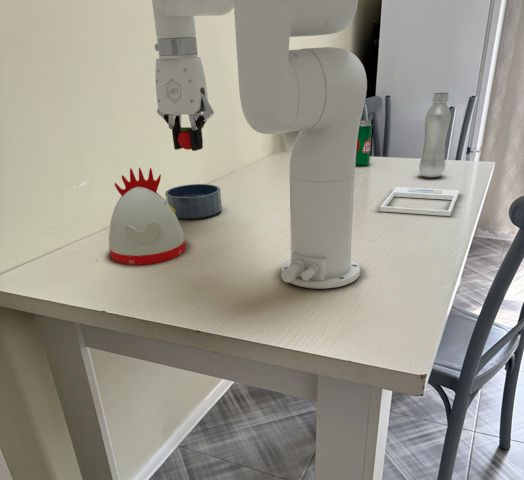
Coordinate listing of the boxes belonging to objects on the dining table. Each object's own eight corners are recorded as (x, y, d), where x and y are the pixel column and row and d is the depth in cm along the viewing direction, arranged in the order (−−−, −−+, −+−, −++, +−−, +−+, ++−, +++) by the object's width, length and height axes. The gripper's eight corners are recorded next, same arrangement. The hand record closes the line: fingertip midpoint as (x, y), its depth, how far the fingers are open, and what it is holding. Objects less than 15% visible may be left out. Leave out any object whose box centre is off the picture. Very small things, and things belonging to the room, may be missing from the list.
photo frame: (459, 189, 119) (450, 210, 105) (458, 194, 119) (450, 216, 105) (396, 186, 124) (379, 205, 110) (395, 190, 125) (379, 211, 111)
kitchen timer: (186, 260, 91) (175, 173, 83) (108, 268, 89) (89, 180, 82) (184, 235, 103) (174, 157, 95) (114, 242, 101) (98, 163, 93)
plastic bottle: (446, 175, 137) (458, 92, 126) (439, 180, 132) (450, 94, 121) (422, 173, 140) (431, 91, 129) (414, 178, 135) (423, 94, 124)
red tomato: (190, 151, 106) (188, 130, 104) (175, 150, 108) (172, 129, 106) (201, 148, 109) (199, 127, 107) (186, 147, 111) (184, 126, 109)
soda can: (365, 167, 150) (367, 122, 143) (349, 165, 152) (351, 122, 146) (372, 163, 153) (374, 120, 147) (356, 162, 156) (358, 119, 149)
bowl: (201, 223, 109) (198, 199, 107) (157, 217, 115) (154, 194, 112) (232, 208, 118) (230, 186, 116) (190, 203, 124) (187, 182, 121)
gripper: (132, 51, 100) (147, 150, 110) (201, 48, 93) (210, 154, 102) (157, 50, 106) (169, 144, 115) (224, 47, 98) (231, 148, 108)
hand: (188, 148), depth 109 cm, fingers closed on red tomato, 3 cm apart
